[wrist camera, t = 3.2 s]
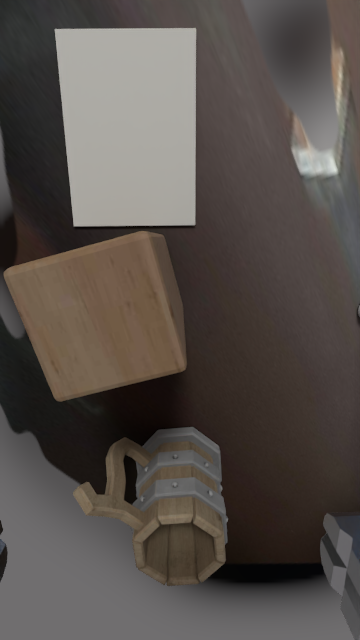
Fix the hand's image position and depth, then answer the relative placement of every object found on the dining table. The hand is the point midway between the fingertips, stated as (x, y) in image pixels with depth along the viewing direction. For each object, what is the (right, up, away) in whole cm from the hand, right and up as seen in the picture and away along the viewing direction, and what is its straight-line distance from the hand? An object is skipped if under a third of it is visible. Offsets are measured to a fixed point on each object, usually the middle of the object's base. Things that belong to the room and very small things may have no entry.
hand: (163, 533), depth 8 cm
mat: (-5, +27, +27) cm, 39 cm away
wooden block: (-5, +10, +32) cm, 34 cm away
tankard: (-3, -14, +39) cm, 42 cm away
